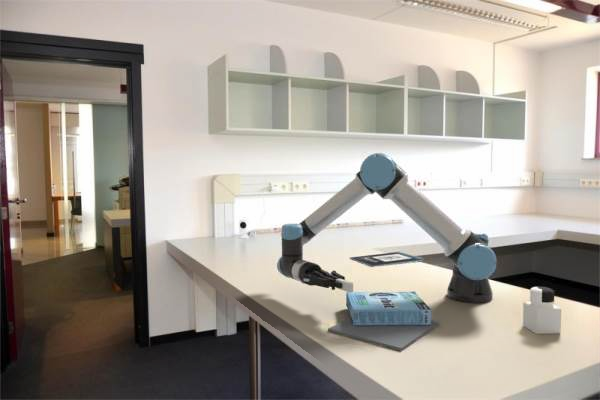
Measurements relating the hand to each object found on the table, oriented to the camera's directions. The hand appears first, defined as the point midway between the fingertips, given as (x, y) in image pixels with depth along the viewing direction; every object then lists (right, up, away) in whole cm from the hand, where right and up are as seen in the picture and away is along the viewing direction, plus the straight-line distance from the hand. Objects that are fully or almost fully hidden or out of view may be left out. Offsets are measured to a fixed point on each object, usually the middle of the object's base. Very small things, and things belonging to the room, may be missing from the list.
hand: (351, 287), depth 135 cm
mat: (+9, -11, -3) cm, 15 cm away
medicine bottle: (+54, -11, -6) cm, 55 cm away
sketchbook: (+28, -5, +92) cm, 96 cm away
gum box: (0, -7, +6) cm, 9 cm away
